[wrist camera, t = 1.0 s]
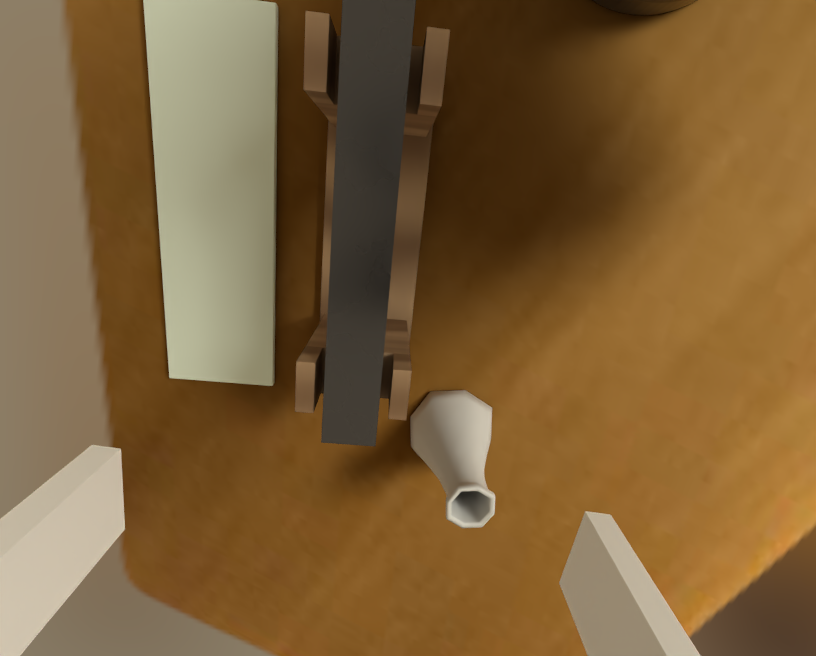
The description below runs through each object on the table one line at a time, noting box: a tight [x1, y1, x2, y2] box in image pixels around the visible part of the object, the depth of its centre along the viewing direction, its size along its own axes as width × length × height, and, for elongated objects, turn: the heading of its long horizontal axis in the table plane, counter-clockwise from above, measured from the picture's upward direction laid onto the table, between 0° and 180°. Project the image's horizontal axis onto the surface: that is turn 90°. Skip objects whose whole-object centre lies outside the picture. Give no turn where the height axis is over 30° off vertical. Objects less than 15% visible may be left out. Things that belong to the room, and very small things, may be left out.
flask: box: [410, 390, 495, 528], centre depth 31 cm, size 7×7×10 cm
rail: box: [321, 0, 416, 446], centre depth 22 cm, size 22×3×3 cm, turn 174°
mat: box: [143, 0, 278, 386], centre depth 30 cm, size 26×8×1 cm, turn 174°
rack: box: [295, 11, 450, 420], centre depth 26 cm, size 22×7×10 cm, turn 174°
